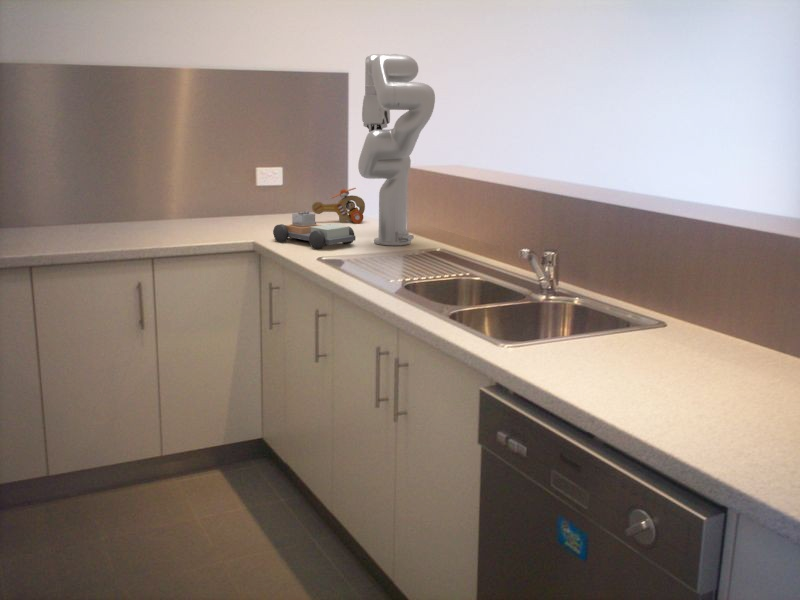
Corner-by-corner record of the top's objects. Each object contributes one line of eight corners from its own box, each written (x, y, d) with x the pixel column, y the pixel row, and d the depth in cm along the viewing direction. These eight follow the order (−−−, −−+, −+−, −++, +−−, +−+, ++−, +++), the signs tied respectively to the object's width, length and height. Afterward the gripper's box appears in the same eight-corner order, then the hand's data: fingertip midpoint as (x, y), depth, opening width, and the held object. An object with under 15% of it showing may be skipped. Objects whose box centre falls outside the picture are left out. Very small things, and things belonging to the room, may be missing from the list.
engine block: (315, 231, 303) (315, 212, 301) (302, 232, 299) (302, 213, 297) (305, 229, 306) (305, 210, 305) (292, 231, 302) (292, 212, 300)
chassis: (358, 245, 296) (358, 226, 295) (325, 251, 285) (325, 231, 284) (302, 235, 314) (302, 217, 313) (269, 240, 303) (269, 221, 302)
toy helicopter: (366, 223, 344) (366, 188, 341) (312, 224, 340) (312, 188, 337) (363, 220, 352) (363, 186, 349) (311, 221, 348) (311, 186, 345)
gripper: (398, 92, 311) (397, 144, 315) (367, 91, 320) (367, 142, 324) (383, 91, 305) (383, 145, 309) (353, 91, 315) (352, 143, 319)
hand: (375, 143), depth 317 cm, fingers closed
